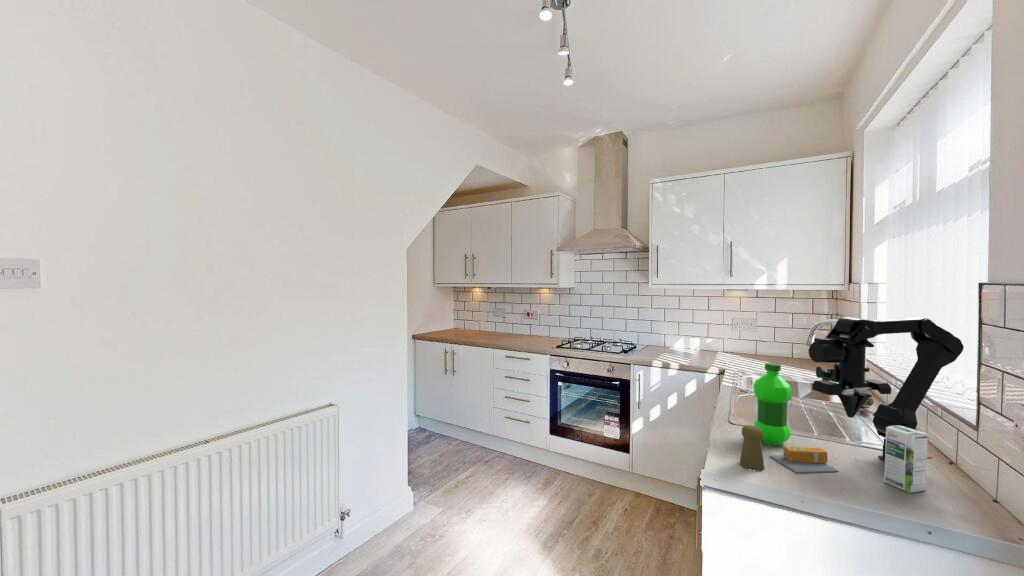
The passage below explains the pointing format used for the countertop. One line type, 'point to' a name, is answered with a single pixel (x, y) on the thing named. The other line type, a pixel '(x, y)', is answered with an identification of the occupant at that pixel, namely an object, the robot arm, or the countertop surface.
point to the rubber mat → (803, 465)
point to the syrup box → (906, 458)
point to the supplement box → (805, 454)
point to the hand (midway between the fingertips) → (850, 417)
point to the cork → (752, 448)
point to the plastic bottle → (772, 405)
